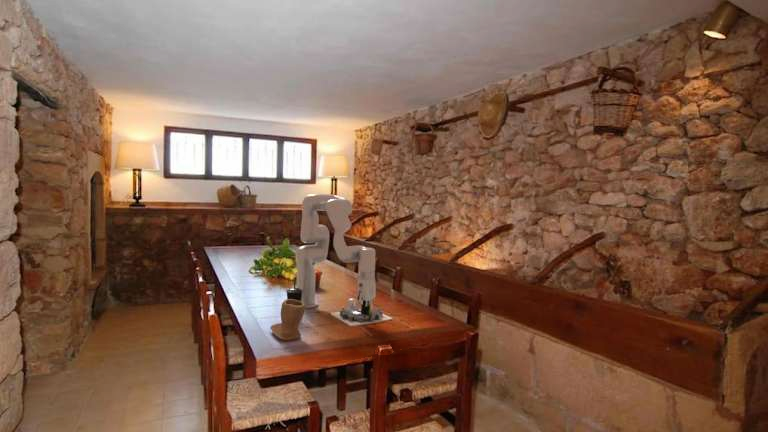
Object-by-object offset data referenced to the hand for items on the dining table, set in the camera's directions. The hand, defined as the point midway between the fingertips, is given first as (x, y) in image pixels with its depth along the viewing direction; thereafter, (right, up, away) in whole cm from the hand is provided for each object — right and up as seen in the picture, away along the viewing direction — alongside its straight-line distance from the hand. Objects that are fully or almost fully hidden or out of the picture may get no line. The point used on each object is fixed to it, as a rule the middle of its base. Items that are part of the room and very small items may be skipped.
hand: (365, 314), depth 194 cm
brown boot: (-31, -5, -18) cm, 36 cm away
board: (-2, -4, +11) cm, 12 cm away
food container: (-38, 0, +68) cm, 78 cm away
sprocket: (-2, -4, +11) cm, 12 cm away
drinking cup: (-34, -3, +4) cm, 34 cm away
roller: (-8, -3, +25) cm, 27 cm away
